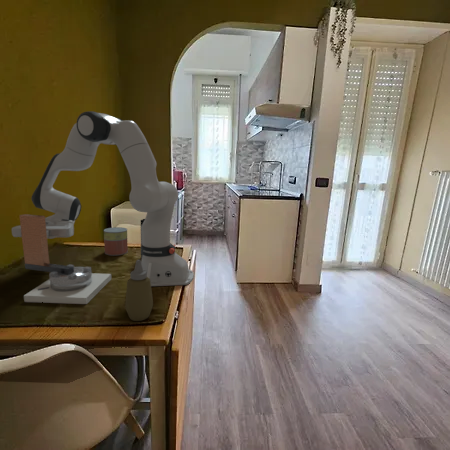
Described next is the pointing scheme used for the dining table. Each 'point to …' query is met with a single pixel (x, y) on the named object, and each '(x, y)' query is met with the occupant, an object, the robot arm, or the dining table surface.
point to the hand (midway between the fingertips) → (33, 236)
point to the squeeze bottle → (139, 294)
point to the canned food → (115, 241)
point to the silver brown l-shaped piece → (39, 257)
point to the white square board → (68, 292)
